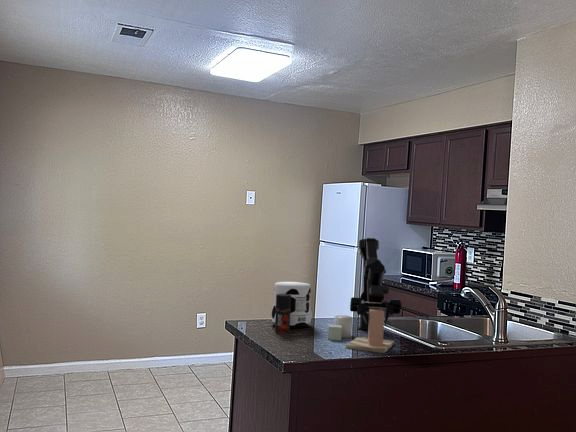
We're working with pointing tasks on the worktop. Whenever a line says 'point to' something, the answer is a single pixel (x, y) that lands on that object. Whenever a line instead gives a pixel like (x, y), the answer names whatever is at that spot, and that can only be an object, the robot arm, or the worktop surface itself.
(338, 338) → the block
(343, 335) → the pale grey cylinder
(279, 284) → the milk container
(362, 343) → the board
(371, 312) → the tan rectangular block
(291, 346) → the worktop surface
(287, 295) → the deodorant
